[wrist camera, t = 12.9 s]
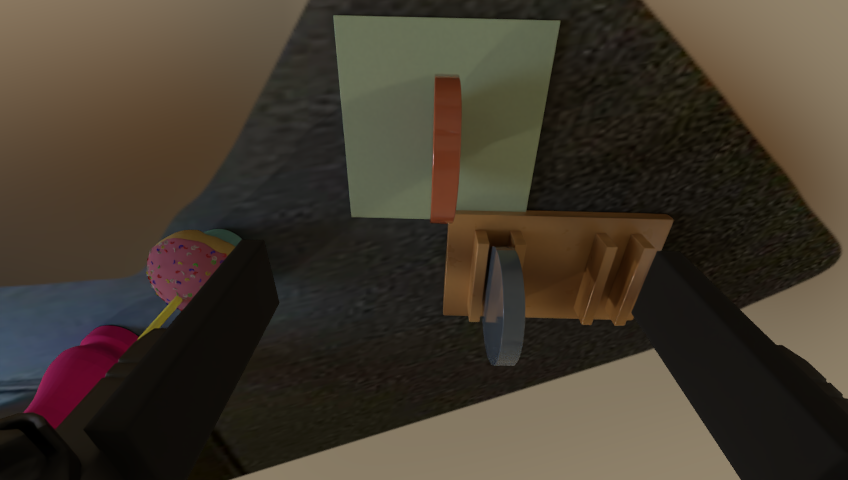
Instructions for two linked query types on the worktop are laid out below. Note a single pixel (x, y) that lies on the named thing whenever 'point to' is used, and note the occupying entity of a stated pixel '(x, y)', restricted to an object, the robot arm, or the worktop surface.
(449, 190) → the terracotta coaster
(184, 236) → the cupcake
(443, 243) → the worktop surface
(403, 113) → the sage mat
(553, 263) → the coaster rack
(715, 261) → the worktop surface
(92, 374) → the pepper mill
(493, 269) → the slate coaster
